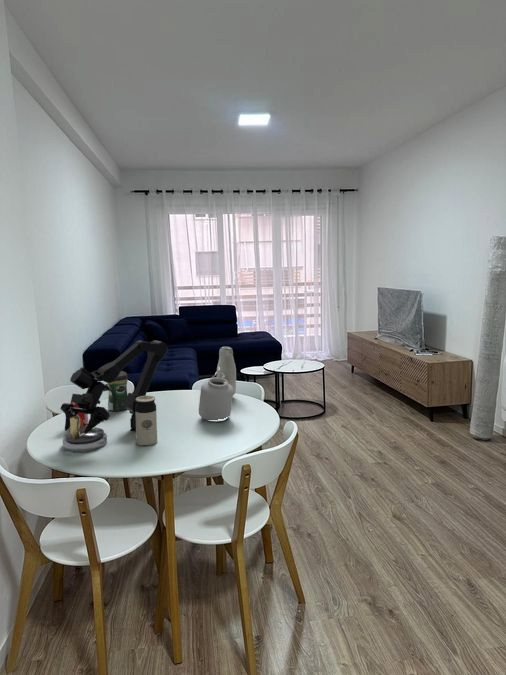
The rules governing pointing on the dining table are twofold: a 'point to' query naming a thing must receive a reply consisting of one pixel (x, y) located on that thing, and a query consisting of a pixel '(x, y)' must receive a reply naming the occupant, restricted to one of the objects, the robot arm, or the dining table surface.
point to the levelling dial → (82, 433)
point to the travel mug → (146, 420)
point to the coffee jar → (118, 393)
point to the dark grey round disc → (85, 445)
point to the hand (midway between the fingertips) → (75, 431)
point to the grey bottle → (227, 367)
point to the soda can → (81, 417)
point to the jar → (215, 399)
